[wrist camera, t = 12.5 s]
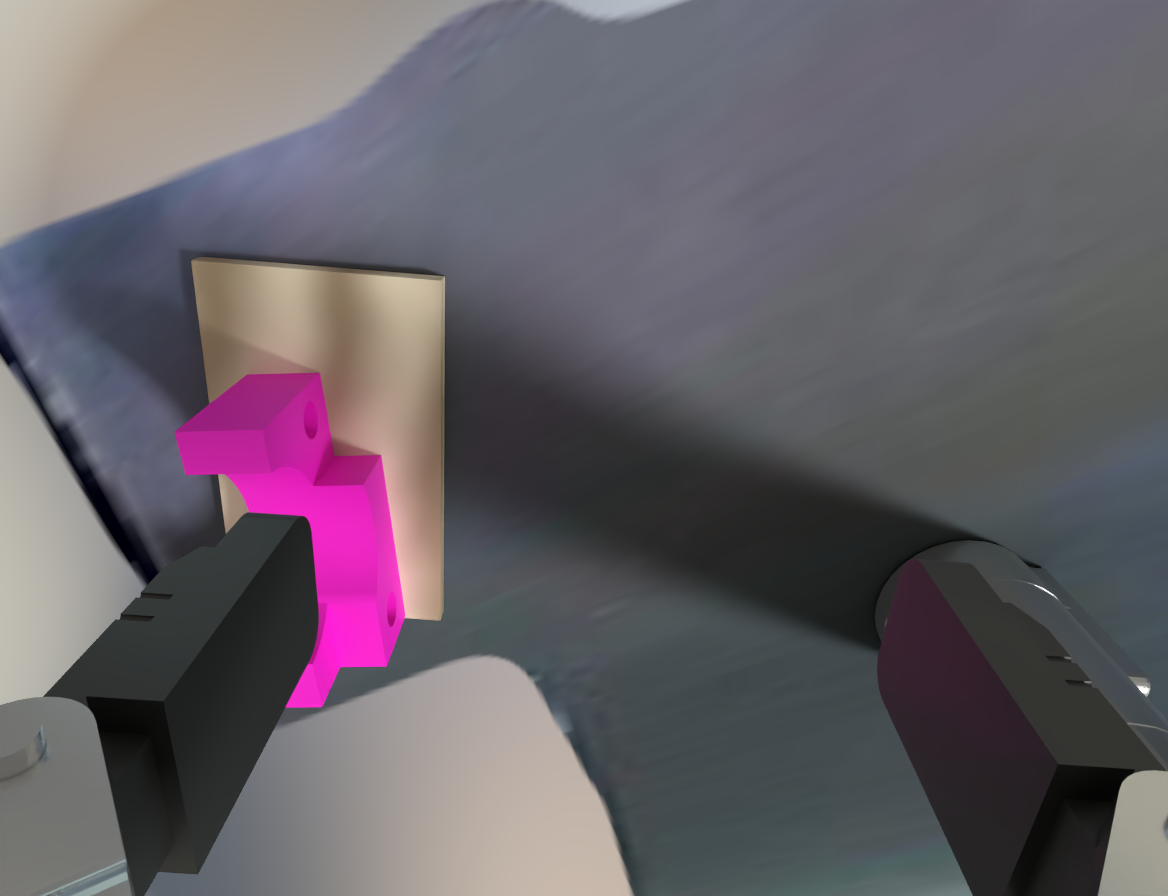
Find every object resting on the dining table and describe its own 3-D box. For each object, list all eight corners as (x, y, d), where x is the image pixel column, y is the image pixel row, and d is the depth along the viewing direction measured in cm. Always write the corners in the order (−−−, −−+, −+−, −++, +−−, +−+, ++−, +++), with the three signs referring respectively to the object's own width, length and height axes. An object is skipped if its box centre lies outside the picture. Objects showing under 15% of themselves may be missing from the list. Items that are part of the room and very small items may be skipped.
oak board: (445, 276, 39) (441, 280, 38) (443, 610, 47) (440, 620, 46) (200, 256, 38) (190, 260, 38) (242, 595, 47) (234, 605, 46)
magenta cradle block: (405, 615, 46) (371, 706, 39) (299, 616, 46) (247, 707, 39) (368, 371, 40) (321, 428, 33) (247, 374, 40) (174, 431, 33)
